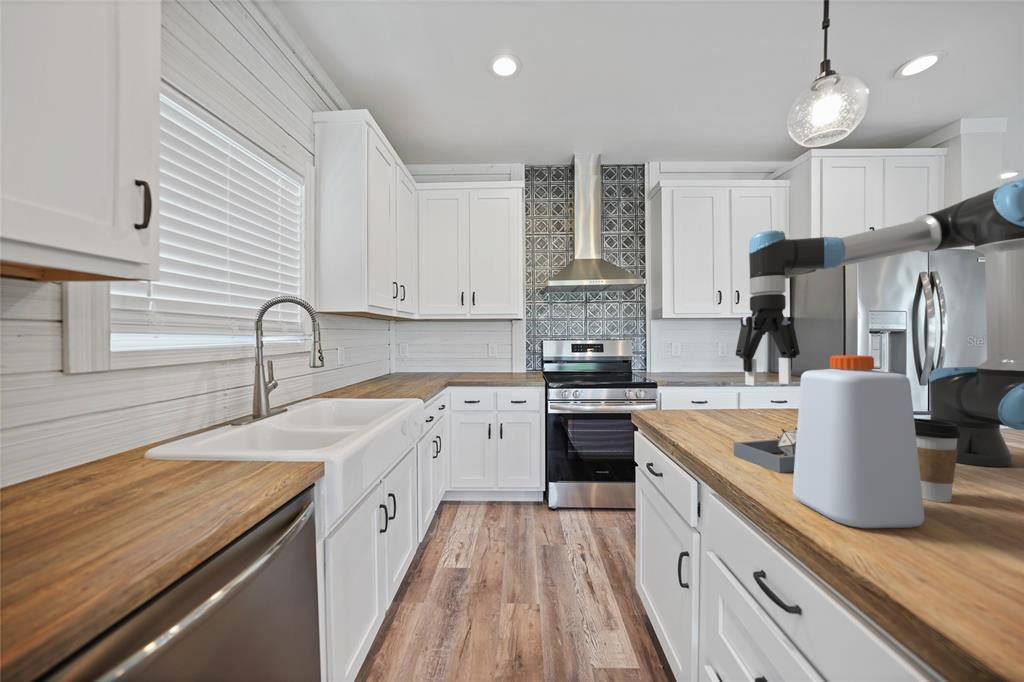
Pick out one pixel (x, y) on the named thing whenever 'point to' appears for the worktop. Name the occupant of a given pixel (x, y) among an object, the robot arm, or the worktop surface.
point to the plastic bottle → (858, 446)
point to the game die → (787, 442)
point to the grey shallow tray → (764, 455)
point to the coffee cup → (936, 457)
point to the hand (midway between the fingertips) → (768, 384)
